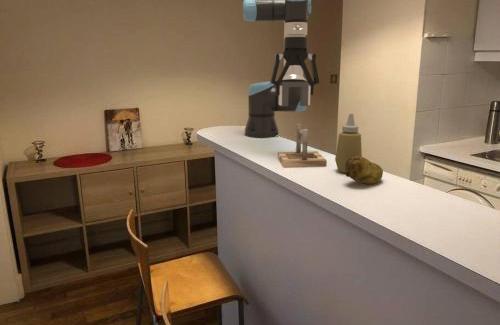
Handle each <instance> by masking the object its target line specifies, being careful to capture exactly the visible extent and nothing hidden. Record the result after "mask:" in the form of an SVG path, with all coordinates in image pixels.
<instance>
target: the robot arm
mask: <svg viewBox="0 0 500 325" xmlns="http://www.w3.org/2000/svg"><path fill="white" fill-rule="evenodd" d="M311 13H312V0H243V2H242V16H243V20H244V21H245V22H251V23H252V22H283V24H284V25H283V29H284V30H283V52H282V53H276V54H274V65H273V69H272V73H271V77H270V81H261V82H256V83H252V84H250V85H248V86H249V87H248V92H247V93H248V94H247V97H248V119H247V120H246V121H247V122H246V125H245V128H244V135H245V136H246V137H252V138H273V137H276V136H278V135H279V127H278V124H277V122H276V119H275V118H276V117H275V114H276V112H295V113H296V112H304V111H306V109H307V107H308V106H311V96H313V95H314V86H315V85H317V84H319V83H320V78H319V72H318V68H317V62H316V60H317V54H316V53H309V52H308V38H307V37H306V36H307V35H308V17H309V15H311ZM307 58H308V60H309V61H310V67H311V72H312V76H311V73H310V71H309V69H308V67H307V64H306V63H305V61H306V59H307ZM282 59H283V68H282V70H281V71H280V74H279V75H278V70H279V66H280V61H282ZM277 75H278V78H277ZM312 77H313V78H312ZM281 82H309V86H308V106H301V105H300V87H289V92H288V106H281V105H282V86H281Z"/></svg>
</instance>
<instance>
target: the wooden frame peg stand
mask: <svg viewBox="0 0 500 325" xmlns="http://www.w3.org/2000/svg"><path fill="white" fill-rule="evenodd" d="M308 135H309V130H308V129H307V128H303V129H302V124H301V123H297V124H296V139H295V140H296V143H295V144H296V147H295V151H278V152H277V158H278V160H279V162H280V163H281V165H282V167H283V169H284V168H309V167H311V168H313V167H314V168H315V167H327V164H328V163H327V161H328V160H327V159H326V158H325V157H324V156H323V155H322V154H321V153H320V152H318V151H317V150H316V151H313V150H311V151H309V150H308V143H309V142H308V141H309V140H308V138H309V136H308Z"/></svg>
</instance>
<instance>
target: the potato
mask: <svg viewBox="0 0 500 325" xmlns="http://www.w3.org/2000/svg"><path fill="white" fill-rule="evenodd" d="M345 171H346V173H345V176H346V177H348V178H350V179H352V181H356V182H360V183H362V184H364V185H365V184H366V185H373V184H374V185H375V184H377V183H378V182H380V181H381V180H382V178H383V173H384V169H383V168H382V167H381V166H380V165H379V164H377V163H374V162H371V161H370V160H369V159H367V158H365V157H363V156H362V157H357V156H356V157H352V158H350V159H348V160H347V161H346V163H345Z"/></svg>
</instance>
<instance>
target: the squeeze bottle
mask: <svg viewBox="0 0 500 325" xmlns="http://www.w3.org/2000/svg"><path fill="white" fill-rule="evenodd" d="M335 151H336V152H335V157H334V158H335V159H334V161H335V164H336V169H337V171H338V172H339V173H343V174H346V171H345V163H346V161H347V160H348V159H350V158H352V157H356V156H357V157H363V153H362V152H363V151H362V134H361V133H359V125H357V124H356V123H355V117H354V114H353V113H349V114H348V116H347V120H346V124H344V125H342V131H341V132H340V133H339V134H338V139H337V145H336V150H335Z"/></svg>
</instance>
